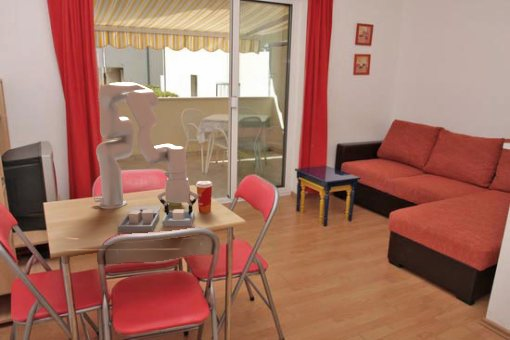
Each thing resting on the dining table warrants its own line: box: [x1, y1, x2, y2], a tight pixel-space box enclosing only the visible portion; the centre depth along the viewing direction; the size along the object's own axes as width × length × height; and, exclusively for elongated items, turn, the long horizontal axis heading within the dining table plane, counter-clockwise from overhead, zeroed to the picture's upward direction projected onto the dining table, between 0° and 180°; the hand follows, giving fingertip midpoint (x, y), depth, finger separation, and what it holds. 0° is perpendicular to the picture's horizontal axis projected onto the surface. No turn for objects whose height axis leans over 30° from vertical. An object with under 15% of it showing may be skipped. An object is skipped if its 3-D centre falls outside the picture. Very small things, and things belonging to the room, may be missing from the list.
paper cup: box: [195, 180, 213, 214], centre depth 187 cm, size 8×8×14 cm
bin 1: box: [117, 212, 160, 233], centre depth 170 cm, size 14×16×3 cm
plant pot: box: [164, 187, 183, 207], centre depth 196 cm, size 9×9×9 cm
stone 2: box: [142, 209, 154, 223], centre depth 173 cm, size 4×4×4 cm
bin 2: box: [161, 210, 195, 227], centre depth 174 cm, size 12×12×3 cm
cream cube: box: [172, 208, 186, 220], centre depth 174 cm, size 4×4×4 cm
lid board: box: [124, 205, 162, 217], centre depth 185 cm, size 14×14×2 cm
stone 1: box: [129, 211, 142, 223], centre depth 173 cm, size 4×4×4 cm
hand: (178, 213), depth 174 cm, fingers open, 9 cm apart
